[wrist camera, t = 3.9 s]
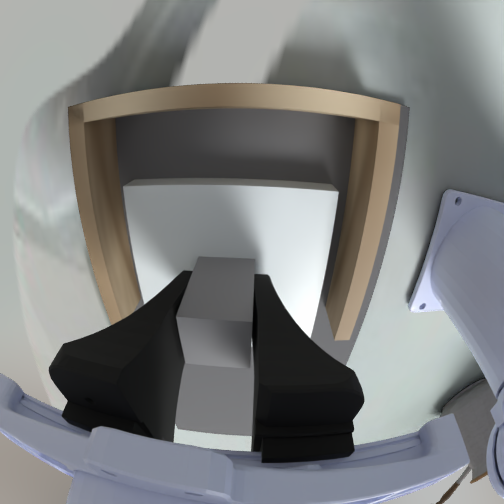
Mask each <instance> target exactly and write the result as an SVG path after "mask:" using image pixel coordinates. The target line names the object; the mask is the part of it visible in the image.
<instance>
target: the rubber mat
mask: <svg viewBox="0 0 504 504" xmlns="http://www.w3.org/2000/svg"><path fill="white" fill-rule="evenodd" d="M409 109H410V107H407V106H403V105H401V107H400V120H399V131H398V140H397V149H396V157H395V164H394V171H393V177H392V183H391V189H390V194H389V200H388V205H387V210H386V215H385V220H384V224H383V229H382V233H381V237H380V241H379V246H378V250H377V253H376V257H375V261H374V265H373V268H372V272H371V276H370V279H369V282H368V286H367V289H366V292H365V296H364V299H363V302H362V305H361V308H360V311H359V314H358V317H357V320H356V323H355V326H354V328H353V331H352V334H351V337H350V339H349V340H335V341H334V337H333V333H332V330H331V326H330V322H329V319H328V315H327V311H326V308H325V307H326V302H327V298H328V294H329V289H330V285H331V280H332V276H333V271H334V266H335V261H336V256H337V251H338V246H339V240H340V235H341V229H342V223H343V217H344V211H345V205H346V198H347V191H348V184H349V176H350V168H351V159H352V150H353V140H354V128H355V118H349V117H343V116H336V115H329V114H321V113H312V112H302V111H290V110H275V109H250V108H216V109H191V110H177V111H165V112H155V113H146V114H139V115H131V116H125V117H118V118H115V123H116V143H117V157H118V169H119V179H120V187H121V196H122V203H123V210H124V217H125V223H126V229H127V235H128V241H129V246H130V251H131V256H132V261H133V266H134V271H135V275H136V280H137V284H138V288H139V292H140V296H141V299H140V301H139V303H138V304H137V306H136V308H135V310H134V312H135V311H136V310H138V309H139V308H140V307H142V306H143V305H144V301H143V297H142V293H141V289H140V284H139V280H138V275H137V271H136V266H135V261H134V256H133V250H132V245H131V239H130V233H129V227H128V221H127V214H126V207H125V199H124V191H123V186H125V185H126V184H128V183H129V182H131V181H133V180H135V179H160V178H239V179H266V180H284V181H299V182H312V183H324V184H332V185H333V186H334V187H335V188H336V189H337V190H338V192H339V194H338V201H337V208H336V214H335V221H334V227H333V233H332V239H331V244H330V250H329V255H328V261H327V266H326V271H325V276H324V281H323V286H322V290H321V295H320V300H319V304H318V309H317V313H316V317H315V321H314V326H313V330H312V334H311V338H310V339H311V340H313V341H314V342H315V343H316V344H317V345H318V346H319V347H320V348H321V349H323V350H324V351H325V352H326V353H328V354H329V355H330V356H332V357H333V358H334V359H336V360H337V361H339V362H340V363H342V364H344V365H345V366H346V364H347V361H348V359H349V356H350V354H351V352H352V349H353V347H354V344H355V342H356V339H357V337H358V334H359V331H360V329H361V326H362V323H363V321H364V318H365V315H366V312H367V310H368V307H369V304H370V301H371V298H372V295H373V292H374V288H375V285H376V282H377V279H378V276H379V272H380V269H381V265H382V262H383V258H384V255H385V251H386V247H387V243H388V239H389V235H390V231H391V227H392V223H393V218H394V214H395V209H396V204H397V199H398V194H399V188H400V183H401V177H402V171H403V164H404V157H405V150H406V141H407V132H408V122H409ZM253 397H254V363H253V348H252V347H251V363H250V368H234V367H219V366H207V365H197V364H188V363H185V365H184V369H183V373H182V378H181V384H180V390H179V396H178V403H177V411H176V419H175V424H176V426H177V428H178V429H182V430H189V431H196V432H205V433H214V434H226V435H241V436H252V423H253Z"/></svg>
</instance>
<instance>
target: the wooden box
mask: <svg viewBox="0 0 504 504" xmlns="http://www.w3.org/2000/svg"><path fill="white" fill-rule="evenodd" d="M400 107H401V104H397V103H393V102H389V101H385V100H381V99H377V98H372V97H367V96H363V95H358V94H352V93H347V92H341V91H334V90H328V89H320V88H312V87H303V86H292V85H279V84H258V83H218V84H197V85H184V86H173V87H164V88H156V89H149V90H142V91H136V92H130V93H124V94H119V95H114V96H109V97H105V98H100V99H96V100H92V101H88V102H84V103H80V104H77V105H73V106H70V107H68V118H69V137H70V149H71V160H72V168H73V176H74V183H75V190H76V196H77V202H78V207H79V212H80V218H81V222H82V227H83V232H84V236H85V240H86V244H87V248H88V252H89V256H90V260H91V263H92V267H93V270H94V274H95V277H96V281H97V284H98V287H99V290H100V293H101V296H102V299H103V302H104V305H105V308H106V311H107V314H108V316H109V319H110V322H111V324H112V325H113V324H115V323H116V322H118V321H120V320H122V319H124V318H125V317H127V316H129V315H130V314H132V313H133V312H134V310H135V308H136V306H137V304H138V303H139V301H140V299H141V296H140V292H139V288H138V284H137V280H136V275H135V271H134V266H133V261H132V256H131V251H130V246H129V241H128V235H127V229H126V223H125V217H124V210H123V203H122V196H121V187H120V179H119V169H118V157H117V143H116V123H115V118H118V117H125V116H131V115H139V114H146V113H155V112H165V111H177V110H191V109H216V108H250V109H275V110H290V111H302V112H312V113H321V114H329V115H336V116H343V117H349V118H355V128H354V140H353V150H352V159H351V168H350V176H349V184H348V191H347V198H346V205H345V211H344V217H343V223H342V229H341V235H340V240H339V246H338V251H337V256H336V261H335V266H334V271H333V276H332V280H331V285H330V289H329V294H328V298H327V302H326V307H325V308H326V311H327V315H328V319H329V322H330V326H331V330H332V333H333V337H334V341H335V340H349V339H350V337H351V334H352V331H353V328H354V326H355V323H356V320H357V317H358V314H359V311H360V308H361V305H362V302H363V299H364V296H365V292H366V289H367V286H368V282H369V279H370V276H371V272H372V268H373V265H374V261H375V257H376V253H377V250H378V246H379V241H380V237H381V233H382V229H383V224H384V220H385V215H386V210H387V205H388V200H389V194H390V189H391V183H392V177H393V171H394V164H395V157H396V149H397V140H398V131H399V120H400Z"/></svg>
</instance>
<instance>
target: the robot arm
mask: <svg viewBox="0 0 504 504" xmlns="http://www.w3.org/2000/svg"><path fill="white" fill-rule="evenodd" d="M457 197H458V200H457V202H456V203H455V200H456V198H457ZM192 272H193V271H187V270H183V271H182V272H181V273H180V274H179V275H178V276H177V277H175V278H174V279H173V280H172V281H171V282H170V283H169V284H168V285H167V286H166V287H165V288H163V289H162V290H161V291H160V292H159V293H158V294H157V295H155V296H154V297H153V298H152V299H151V300H149V301H148V302H147V303H146V304H144V305H143V306H142V307H140V308H139V309H138V310H136V311H135V312H133V313H132V314H130V315H129V316H127V317H125V318H124V319H122V320H120V321H118V322H116V323H115V324H113V325H111V326H109V327H107V328H105V329H103V330H101V331H99V332H96V333H94V334H91V335H89V336H86V337H84V338H81V339H77V340H74V341H71V342H68V343H64V344H63V345H62V347H61V348H60V350H59V352H58V353H57V355H56V357H55V358H54V360H53V362H52V363H51V365H50V367H49V374H50V377H51V379H52V381H53V382H54V384H55V385H56V386H57V388H58V389H59V390H60V391H61V393H62V394H63V395H64V396H65V398H66V399H67V400H68V402H67V404H66V406H65V409H64V411H61V410H59V409H57V408H54V407H52V406H50V405H47V404H45V403H43V402H41V401H39V400H37V399H35V398H33V397H31V396H29V395H27V394H25V393H24V392H23V390H22V389H21V388H20V386H19V385H18V384H17V383H15V382H14V381H13V380H12V379H10V378H8V377H6V376H5V375H3V374H1V373H0V432H1V433H3V434H4V435H5V436H6V437H7V438H8V439H10V440H11V441H13V442H14V443H15V444H17V445H18V446H20V447H21V448H23V449H25V450H26V451H27V452H29V453H31V454H32V455H34V456H36V457H37V458H39V459H40V460H42V461H44V462H45V463H47V464H49V465H51V466H52V467H54V468H56V469H58V470H60V471H61V472H63V473H65V474H67V475H69V476H71V477H73V480H72V484H71V487H70V491H69V494H68V498H67V502H66V504H379V503H382V502H386V501H389V500H392V499H395V498H398V497H401V496H404V495H407V494H410V493H412V492H415V491H418V490H420V489H423V488H425V487H428V486H430V485H433V484H435V483H437V482H439V481H440V480H442V479H444V478H446V477H448V476H449V475H451V474H453V473H454V472H456V471H458V470H459V469H461V468H463V467H464V466H465V465H467V464H469V462H470V459H469V456H468V453H467V450H466V447H465V444H464V441H463V438H462V435H461V432H460V430H459V427H458V424H457V422H456V419H455V416H454V414H452V413H451V414H448V415H446V416H443V417H440V418H436V419H434V420H431V421H429V422H427V423H426V424H425V425H423V426H422V427H421V428H420V430H419V431H417V432H414V433H410V434H406V435H403V436H399V437H394V438H390V439H386V440H381V441H376V442H371V443H366V444H360V445H354V443H353V437H352V432H353V431H354V425H353V419H354V418H355V416H356V415H357V413H358V412H359V411H360V409H361V408H362V406H363V404H364V395H363V391H362V387H361V385H360V383H359V380H358V378H357V376H356V374H355V372H354V371H353V370H352V369H350V368H348V367H347V366H345V365H344V364H342V363H340V362H339V361H337V360H336V359H334V358H333V357H332V356H330V355H329V354H328V353H326V352H325V351H324V350H323V349H321V348H320V347H319V346H318V345H317V344H316V343H315V342H314V341H313V340H311V339H310V338H309V336H308V335H307V334H306V333H305V332H304V331H303V330H302V329H301V328H300V327H299V325H298V324H297V323H296V322H295V320H294V319H293V318H292V316H291V315H290V314H289V312H288V311H287V309H286V308H285V306H284V304H283V303H282V301H281V299H280V298H279V296H278V294H277V292H276V290H275V288H274V286H273V284H272V281H271V278H270V276H269V275H268V274H254V296H253V322H252V348H253V363H254V397H253V423H252V446H251V452H249V451H231V450H219V449H209V448H201V447H197V446H192V445H185V444H179V443H173V441H174V429H175V419H176V411H177V403H178V396H179V390H180V384H181V378H182V373H183V369H184V365H185V358H184V354H183V349H182V344H181V340H180V335H179V330H178V325H177V319H176V315H177V312H178V309H179V307H180V304H181V301H182V299H183V296H184V293H185V290H186V288H187V285H188V283H189V280H190V277H191V275H192ZM421 304H422V305H421ZM408 308H409V310H410V311H411V312H426V311H439V310H444V311H445V312H446V314H447V315H448V316H449V318H450V319H451V321H452V322H453V324H454V325H455V327H456V329H457V330H458V332H459V333H460V335H461V336H462V338H463V340H464V341H465V343H466V344H467V346H468V348H469V349H470V351H471V353H472V354H473V356H474V358H475V360H476V361H477V363H478V365H479V367H480V368H481V370H482V372H483V374H484V376H485V378H486V380H487V381H488V383H489V385H490V387H491V389H492V391H493V393H494V395H495V397H496V399H498V400H497V403H496V404H495V405H494V407H493V408H492V409H491V410H490V412H491V414H492V416H493V419H494V421H495V425H494V427H493V429H492V431H491V434H490V437H489V441H488V446H487V455H486V463H487V472H488V476H489V479H490V482H491V484H492V486H493V488H494V489H495V491H496V492H497V494H498V495H500V496H501V497H502V498H504V203H502V202H499V201H495V200H492V199H488V198H484V197H481V196H477V195H473V194H469V193H465V192H460V191H456V190H452V189H448V190H446V191H445V192H444V194H443V197H442V201H441V205H440V210H439V214H438V218H437V221H436V225H435V229H434V232H433V236H432V239H431V243H430V246H429V249H428V252H427V255H426V258H425V261H424V264H423V267H422V270H421V273H420V276H419V278H418V281H417V284H416V286H415V289H414V292H413V294H412V297H411V299H410V301H409V304H408Z"/></svg>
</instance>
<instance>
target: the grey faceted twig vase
mask: <svg viewBox="0 0 504 504" xmlns="http://www.w3.org/2000/svg"><path fill="white" fill-rule="evenodd" d="M497 400H498V399H496V397H495V395H494V393H493V391H492V389H491V387H490V385H489V383H488V381H487V380H486V379H481V380H479V381H477V382H475V383H473V384H471V385H470V386H468V387H467V388H465V389H464V390H462V391H461V392H460V393H458V394H457V395H456V396H455V397H453V398H452V399H451V400H450V401H449V402H448V403H447V404H446V405H445V406H444V408H443V410H442V414H441V415H440V417H443V416H446V415H448V414H451V413H452V414H454V416H455V419H456V422H457V424H458V427H459V430H460V432H461V435H462V438H463V441H464V444H465V447H466V450H467V453H468V456H469V459H470V462H469V464H467V465H468V467H467V468H466V470H465V471H464V472H463V474H462V475H461V476H460V478H459V479H458V480H457V481H456V482H455V483H454V484H453V486H452V487H451V488H450V489H449V490H448V491H447V492H446V493H445V494H444V495H443V496H442V498H441V500H440V501H439V502H437V503H436V504H442V503H444V502H445V501H446V500H447V499H449V497H450V496H451V495H452V494H453V492H454V491H455V490H456V488H457V487H458V486H459V485H460V483H461V482H462V480H463V479H464V478H465V477H466V476H467V474H468V473H469V472H470V471H471V469H472V481H471V482H470V483H474V482H476V481H478V480H479V479H481V478H483V477H484V476H486V475H488V472H487V463H486V455H487V446H488V441H489V437H490V434H491V431H492V429H493V427H494V425H495V421H494V419H493V416H492V414H491V412H490V410H491V409H492V408H493V407H494V405H495V404H496V403H497ZM440 417H439V418H440Z"/></svg>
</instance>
